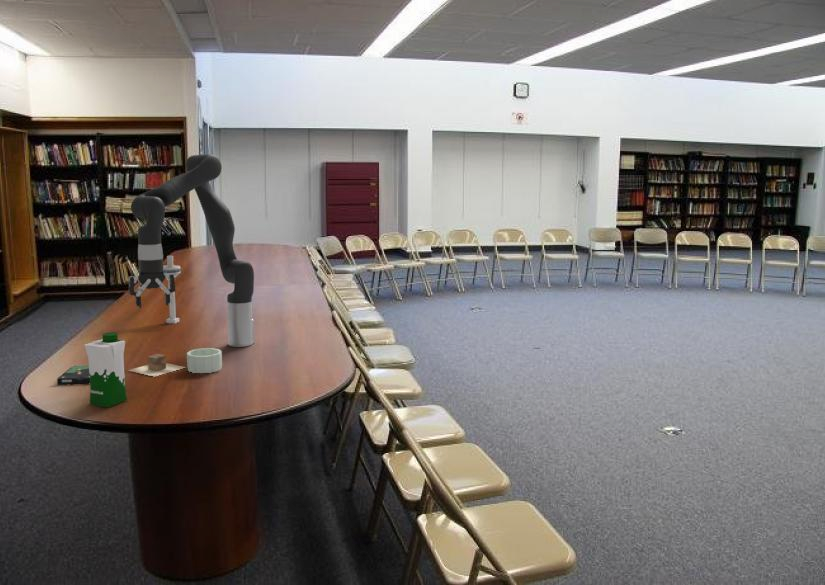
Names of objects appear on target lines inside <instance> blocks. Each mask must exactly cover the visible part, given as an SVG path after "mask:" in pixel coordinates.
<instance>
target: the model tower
mask: <svg viewBox="0 0 825 585" xmlns="http://www.w3.org/2000/svg"><path fill="white" fill-rule="evenodd" d="M166 260H167V261H166V263H167V265H163V270H164V275H169V274H173V275H174V279H175V278H176V277H178V276H179V275H180V274H181V272H182V270H181V266H180V265H179V264H177V265H176V264H174V256H173V255H167V256H166ZM167 283H168V286H167V289H170V283H169V281H168V280H167ZM175 292H176V291H175ZM175 292H172V293H170V303H168V307H169V318H166V320H165V321H166V324H177V322H178V323H179V322H180V318H179V317H176V315H177V314H176V297H175V296H176V295H175V294H176V293H175Z"/></svg>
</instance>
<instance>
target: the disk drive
mask: <svg viewBox="0 0 825 585" xmlns="http://www.w3.org/2000/svg"><path fill="white" fill-rule="evenodd" d="M56 382H57V386H68V385H67V384H70V385H69V386H74V385H73V384H83V385H90V384H89V383H90V374H89V364H88V365H73V366H72V367H70V368H68V369H67V370H66V371H65V372H64V373H62V374H61V375H60V376H58V377H57V378H56Z"/></svg>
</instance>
